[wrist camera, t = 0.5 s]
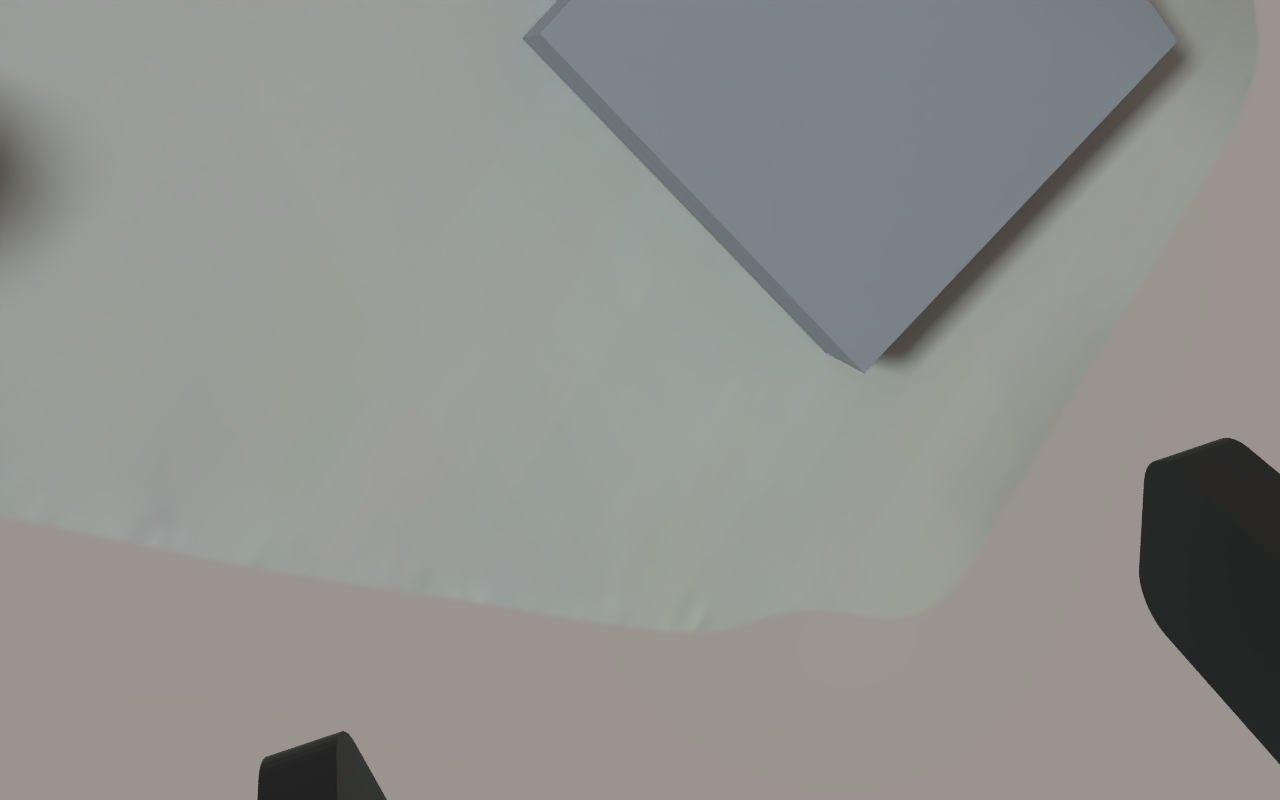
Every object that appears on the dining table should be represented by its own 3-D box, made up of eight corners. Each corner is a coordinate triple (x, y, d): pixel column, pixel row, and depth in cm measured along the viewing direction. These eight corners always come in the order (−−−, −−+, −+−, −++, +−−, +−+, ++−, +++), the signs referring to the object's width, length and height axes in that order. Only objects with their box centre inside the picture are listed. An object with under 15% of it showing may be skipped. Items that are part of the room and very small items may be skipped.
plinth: (522, 38, 33) (539, 33, 30) (854, -319, 33) (903, -357, 30) (825, 352, 38) (864, 373, 35) (1115, 44, 38) (1177, 40, 35)
